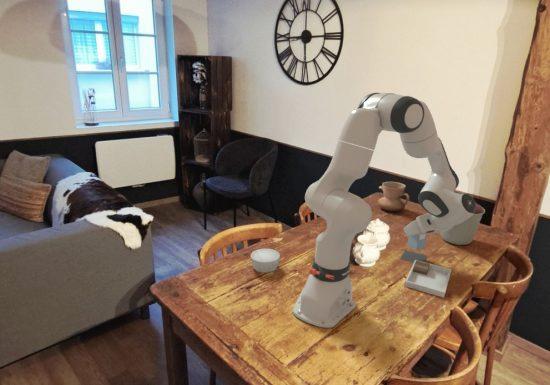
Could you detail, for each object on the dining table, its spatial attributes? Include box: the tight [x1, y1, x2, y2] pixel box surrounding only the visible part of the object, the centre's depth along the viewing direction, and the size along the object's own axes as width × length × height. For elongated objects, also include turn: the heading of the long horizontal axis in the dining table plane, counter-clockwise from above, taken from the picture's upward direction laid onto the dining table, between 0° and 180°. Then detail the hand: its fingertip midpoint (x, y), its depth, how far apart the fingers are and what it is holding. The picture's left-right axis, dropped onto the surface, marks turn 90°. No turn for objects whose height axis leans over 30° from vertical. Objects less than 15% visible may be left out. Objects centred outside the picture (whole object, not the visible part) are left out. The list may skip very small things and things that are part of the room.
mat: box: [399, 249, 428, 263], centre depth 153 cm, size 9×9×1 cm
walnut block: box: [413, 260, 431, 275], centre depth 143 cm, size 5×5×2 cm
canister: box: [439, 202, 486, 246], centre depth 168 cm, size 18×18×21 cm
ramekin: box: [250, 248, 281, 274], centre depth 144 cm, size 11×11×5 cm
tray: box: [404, 260, 452, 298], centre depth 137 cm, size 18×13×3 cm
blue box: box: [407, 233, 428, 251], centre depth 150 cm, size 5×4×10 cm
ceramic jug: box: [377, 181, 410, 212], centre depth 204 cm, size 18×14×14 cm
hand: (416, 234), depth 151 cm, fingers closed on blue box, 4 cm apart
